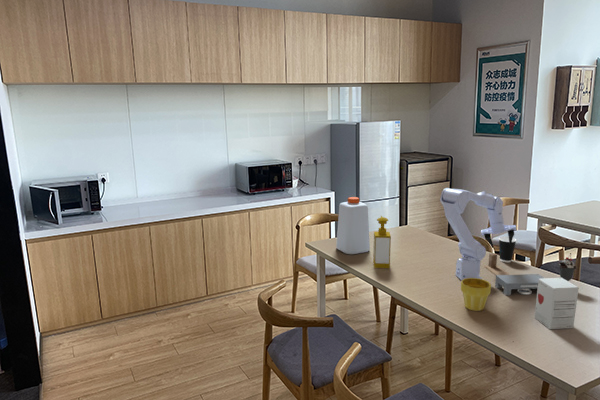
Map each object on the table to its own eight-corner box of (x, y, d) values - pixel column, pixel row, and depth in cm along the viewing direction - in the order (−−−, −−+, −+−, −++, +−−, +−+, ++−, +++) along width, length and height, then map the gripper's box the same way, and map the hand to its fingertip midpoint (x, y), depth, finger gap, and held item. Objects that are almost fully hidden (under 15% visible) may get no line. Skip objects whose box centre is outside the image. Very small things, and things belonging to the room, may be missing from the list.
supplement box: (533, 317, 161) (537, 277, 158) (557, 316, 161) (561, 276, 158) (549, 329, 152) (553, 288, 149) (574, 328, 153) (579, 286, 150)
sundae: (571, 286, 187) (576, 252, 184) (575, 293, 181) (580, 257, 178) (553, 284, 189) (557, 250, 186) (557, 291, 183) (561, 255, 180)
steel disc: (521, 295, 180) (521, 292, 180) (515, 290, 185) (515, 287, 184) (533, 295, 180) (534, 292, 180) (527, 290, 185) (527, 287, 185)
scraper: (507, 285, 189) (509, 270, 188) (484, 267, 211) (485, 253, 210) (521, 285, 190) (523, 269, 188) (496, 266, 211) (498, 253, 210)
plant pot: (471, 315, 163) (473, 289, 161) (453, 303, 173) (455, 279, 171) (495, 311, 166) (497, 286, 164) (477, 299, 176) (478, 276, 174)
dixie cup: (518, 261, 218) (520, 239, 216) (508, 264, 214) (510, 242, 211) (502, 257, 224) (504, 235, 222) (493, 260, 220) (495, 238, 218)
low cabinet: (506, 296, 179) (507, 284, 178) (495, 286, 188) (496, 275, 187) (550, 294, 180) (551, 282, 179) (537, 285, 189) (538, 274, 188)
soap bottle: (387, 259, 223) (388, 212, 218) (389, 268, 211) (391, 219, 206) (372, 258, 224) (373, 212, 219) (374, 267, 211) (375, 219, 206)
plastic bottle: (333, 247, 242) (333, 196, 236) (357, 244, 248) (358, 194, 242) (347, 256, 228) (348, 202, 223) (372, 251, 234) (374, 199, 229)
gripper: (512, 213, 201) (517, 238, 206) (478, 218, 207) (483, 243, 212) (515, 221, 195) (519, 246, 200) (479, 226, 201) (485, 251, 206)
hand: (501, 245), depth 206 cm, fingers open, 7 cm apart
